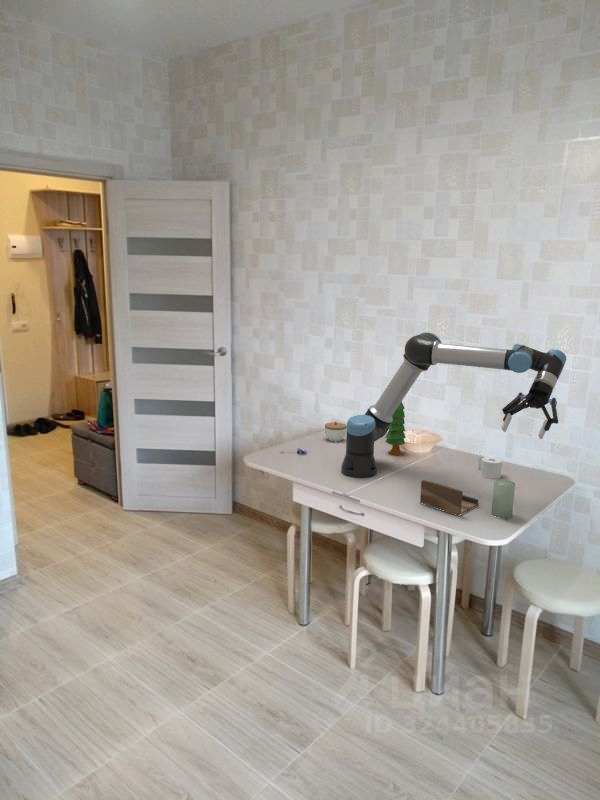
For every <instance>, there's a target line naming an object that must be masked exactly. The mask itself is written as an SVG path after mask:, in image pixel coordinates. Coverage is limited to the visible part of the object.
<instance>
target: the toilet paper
mask: <svg viewBox="0 0 600 800" xmlns="http://www.w3.org/2000/svg"><path fill="white" fill-rule="evenodd" d="M477 459H478V464H477V465H478V471H480V476H481V477H482V476H483V478H485V479H490V480H499V479H500V478H502V477H501V475H502V467H503V460H502V459H500V458H499V457H494V456H492V457H491V456H478V457H477Z"/></svg>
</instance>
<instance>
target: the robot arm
mask: <svg viewBox="0 0 600 800" xmlns="http://www.w3.org/2000/svg"><path fill="white" fill-rule="evenodd" d="M402 356H403V362H402V363H401V365H400V366H399V368H398V369H397V371H396V372H395V374H394V375H393V377H392V379H391V380H390V381H389V383H388V385H387V386H386V388H385V389H384V391H383V392H382V394H381V395H380V397H379V398H378V400H377V401H376V403H375V404H372V405H369V407H368V408H367V410H366V411H365V413H364V414H359V415H358V414H357V415H353V416H351V417H349V418H348V420H347V423H346V435H345V436H346V438H345V439H346V440H345V445H346V447H345V455H344V458H343V461H342V462H341V468H340V469H341V470H340V471H341V473H342V474H344V475H345V476H349V477H354V478H371V477H373V476H376V475H377V473H378V466H377V462H376V460H375V456H374V452H375V451H374V450H375V442H376V441H378V440H379V439H381V438H383V437H384V436H386V435H387V433H388V431H389V430H388V429H389V426H390V424H391V423H392V421H393V418H392V415H393V413H394V412H395V410H396V409H397V407H398V406H399V405H400V403H401V402H402V403H403V400H404V399H405V397H406V395H407V394H408V393H409V391H410V389H411V388H412V387H413V385H414V384H415V382H416V381H417V379H418V378H419V377H420V375H421V374H422V372H427V371H428V370H429V369H430V367H431V366H436V365H437V364H445V365H452V366H453V365H456V366H463V367H464V366H466V367H473V368H475V367H476V368H484V369H495V370H503V371H509V372H510V371H512V372H513V373H516V374H523V373H525V372H527V371H528V370H532V371H535V372H537V373H536V375H535V377H534V380H533V381H532V384H531V386H530V388H529V390H528V393H526V394H523V392H519V393H518V394H517V396H516V397H515V398H514V399H512V400H511V401H510V402H508V403H507V404H506V405H505V406H504V407H503V408H501V410H502V413H503V415H504V417H503V419H502V421H503V423H502V426H501V429H502V431H503V432H505V433H506V432H507V429H508V428H509V425H510V423H511V422H512V418H513V415H516V414H517V413H519V412H521V411H523V410H525V409H528V408H531V409H541V410H542V413H543V414H544V417H545V418H546V419H544V422H542V426H541V427H540V430H539V432H538V437H539V440H543V438H544V436H545V434H546V432H549V431H550V428H551V426H552V425H553V424H556V425H557V424H559V418H558V417H559V416H558V411H557V404H558V401H557V399H556V397H552V398H551V396H552V394H553V392H554V390H555V386H556V385H557V382H558V380H559V378H560V377H561V374H562V372H563V370H564V368H565V365H566V362H567V356H566V354H565V353H564V352H563V351H561V350H559V349H554V348H553V349H549V350H548V351H547V352H543V351H540V350H537V349H534V348H531V347H529V346H526V344H525V345H524V344H520V343H515V344H514V345H513V347H512V348H511V349H504V348H494V347H485V346H472V345H471V346H470V345H463V344H462V345H460V344H451V343H450V344H449V343H442V341H441V338H440V337H439V336H438V335H436V334H435V333H432V332H429V331H428V332H422V333H420V334H416V335H414V336H411V337H409V339H408V340H407V341H406V343H405V345H404V353H403V355H402ZM548 404H550V407H551V413H552V417H551V415H550V414H549V411H548V409H547V408H546V405H548Z"/></svg>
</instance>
